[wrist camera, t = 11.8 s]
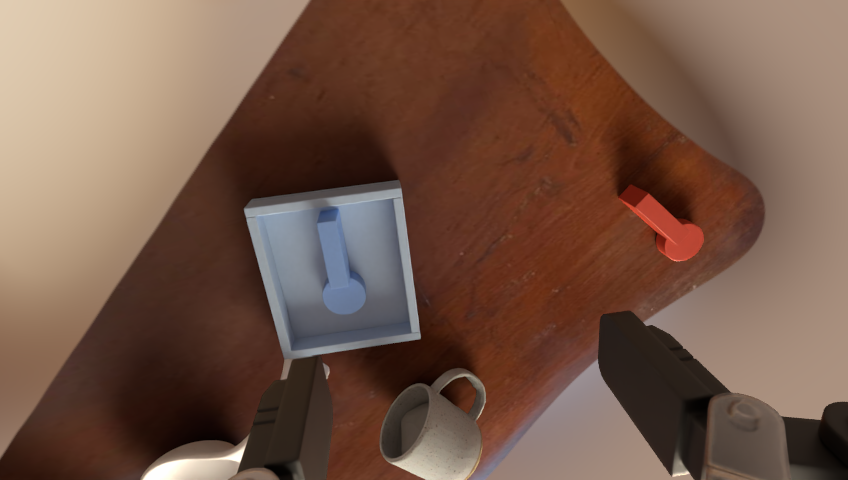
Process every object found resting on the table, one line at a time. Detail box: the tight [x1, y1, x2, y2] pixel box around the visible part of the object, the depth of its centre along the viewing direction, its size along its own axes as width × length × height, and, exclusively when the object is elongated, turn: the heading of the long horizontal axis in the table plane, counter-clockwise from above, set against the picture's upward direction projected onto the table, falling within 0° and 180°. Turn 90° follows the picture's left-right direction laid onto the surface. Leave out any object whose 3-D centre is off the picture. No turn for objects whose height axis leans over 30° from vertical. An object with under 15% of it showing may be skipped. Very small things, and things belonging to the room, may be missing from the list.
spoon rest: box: [140, 356, 329, 480], centre depth 44 cm, size 24×12×7 cm, turn 141°
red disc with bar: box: [618, 184, 704, 261], centre depth 42 cm, size 10×4×3 cm, turn 51°
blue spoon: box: [316, 209, 366, 315], centre depth 40 cm, size 10×4×3 cm, turn 6°
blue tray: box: [244, 180, 421, 359], centre depth 41 cm, size 15×13×3 cm
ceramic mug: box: [380, 368, 486, 480], centre depth 45 cm, size 11×8×8 cm
